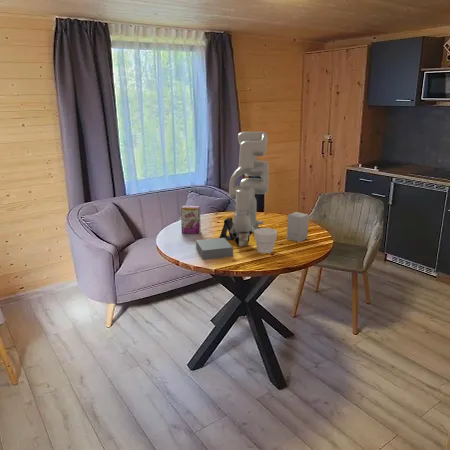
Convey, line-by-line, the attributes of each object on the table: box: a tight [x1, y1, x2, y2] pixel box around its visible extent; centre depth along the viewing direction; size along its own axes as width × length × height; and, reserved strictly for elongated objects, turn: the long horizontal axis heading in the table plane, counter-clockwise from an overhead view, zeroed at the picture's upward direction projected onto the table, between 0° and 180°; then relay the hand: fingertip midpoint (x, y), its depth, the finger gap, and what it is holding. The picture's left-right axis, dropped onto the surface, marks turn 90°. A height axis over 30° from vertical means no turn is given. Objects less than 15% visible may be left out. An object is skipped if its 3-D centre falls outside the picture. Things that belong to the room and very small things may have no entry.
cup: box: [253, 227, 278, 255], centre depth 218 cm, size 12×12×11 cm
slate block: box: [195, 237, 234, 260], centre depth 216 cm, size 16×16×5 cm
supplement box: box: [286, 211, 310, 243], centre depth 236 cm, size 9×9×15 cm
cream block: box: [237, 232, 249, 247], centre depth 227 cm, size 5×5×7 cm
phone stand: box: [218, 216, 235, 241], centre depth 238 cm, size 9×6×12 cm, turn 66°
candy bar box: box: [180, 205, 201, 235], centre depth 247 cm, size 11×5×16 cm, turn 84°
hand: (242, 242), depth 228 cm, fingers closed on cream block, 5 cm apart
